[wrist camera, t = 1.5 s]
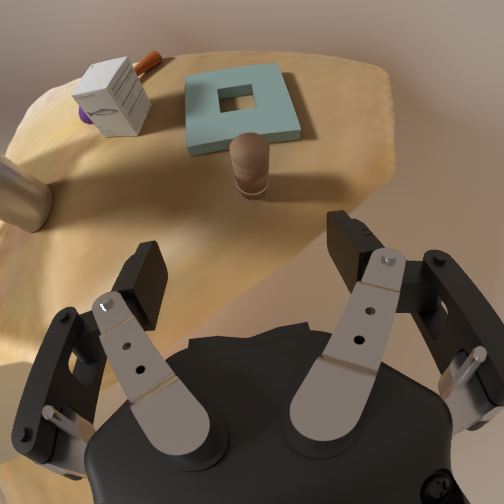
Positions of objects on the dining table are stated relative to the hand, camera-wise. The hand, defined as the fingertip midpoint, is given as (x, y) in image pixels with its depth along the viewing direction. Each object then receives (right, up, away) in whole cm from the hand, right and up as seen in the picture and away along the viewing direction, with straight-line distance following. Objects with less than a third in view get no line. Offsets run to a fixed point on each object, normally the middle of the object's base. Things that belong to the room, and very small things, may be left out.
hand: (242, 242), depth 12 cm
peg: (+1, +8, +23) cm, 24 cm away
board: (-2, +22, +26) cm, 35 cm away
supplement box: (-21, +22, +27) cm, 41 cm away
